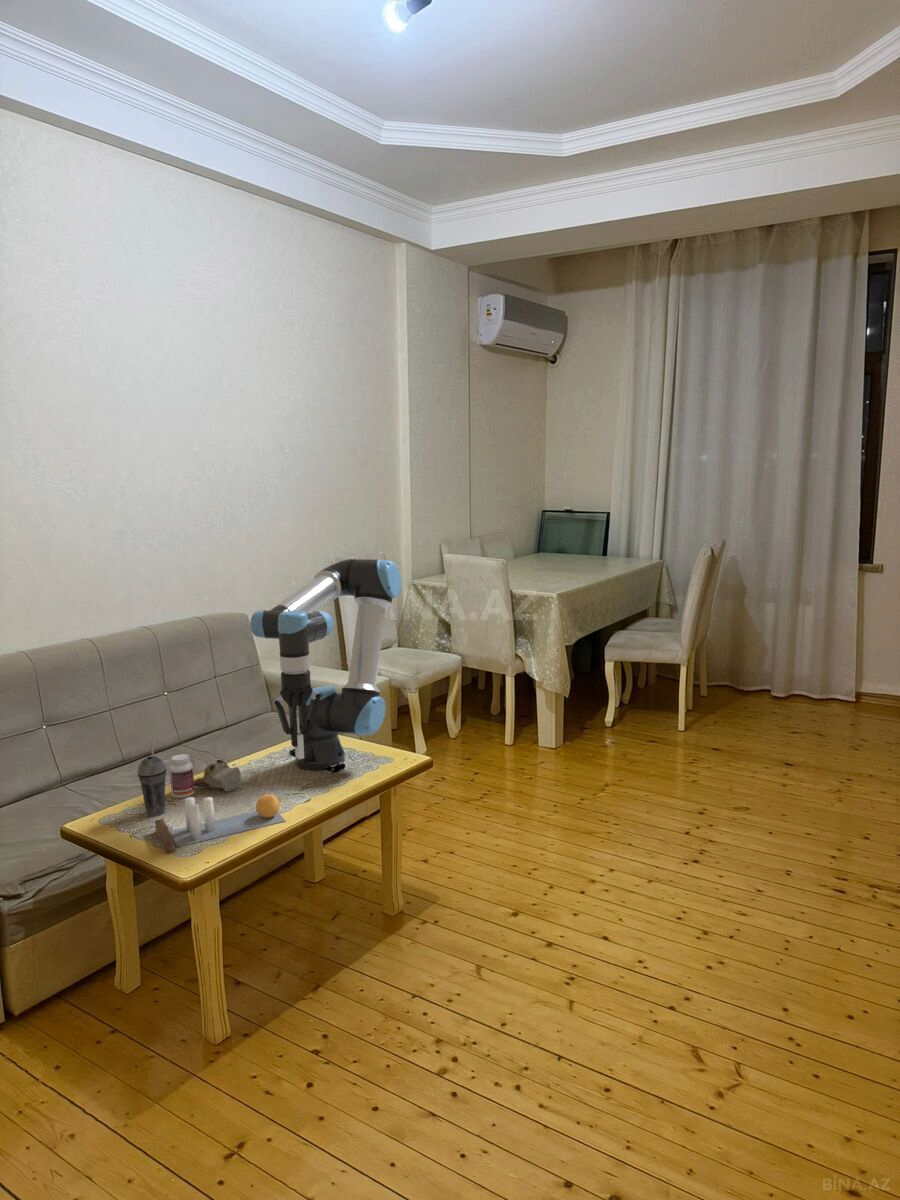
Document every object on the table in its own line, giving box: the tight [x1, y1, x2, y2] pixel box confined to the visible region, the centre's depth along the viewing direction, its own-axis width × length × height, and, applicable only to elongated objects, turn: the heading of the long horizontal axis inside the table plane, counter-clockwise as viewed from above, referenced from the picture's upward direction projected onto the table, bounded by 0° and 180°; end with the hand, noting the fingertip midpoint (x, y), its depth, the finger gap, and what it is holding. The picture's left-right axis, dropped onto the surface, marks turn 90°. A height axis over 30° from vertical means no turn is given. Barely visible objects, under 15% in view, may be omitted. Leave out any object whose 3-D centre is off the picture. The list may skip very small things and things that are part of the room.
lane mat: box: [169, 810, 286, 848], centre depth 204 cm, size 27×10×1 cm, turn 120°
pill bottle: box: [169, 753, 195, 799], centre depth 225 cm, size 6×6×11 cm
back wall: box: [154, 818, 176, 855], centre depth 196 cm, size 2×14×3 cm, turn 30°
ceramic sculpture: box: [194, 759, 242, 793], centre depth 229 cm, size 11×9×15 cm
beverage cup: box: [137, 739, 167, 817], centre depth 212 cm, size 7×7×20 cm
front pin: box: [202, 796, 215, 832], centre depth 201 cm, size 2×2×8 cm
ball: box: [255, 793, 280, 818], centre depth 209 cm, size 6×6×6 cm
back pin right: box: [184, 796, 196, 832], centre depth 201 cm, size 2×2×8 cm
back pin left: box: [189, 803, 201, 840], centre depth 197 cm, size 2×2×8 cm
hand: (299, 757), depth 211 cm, fingers closed
